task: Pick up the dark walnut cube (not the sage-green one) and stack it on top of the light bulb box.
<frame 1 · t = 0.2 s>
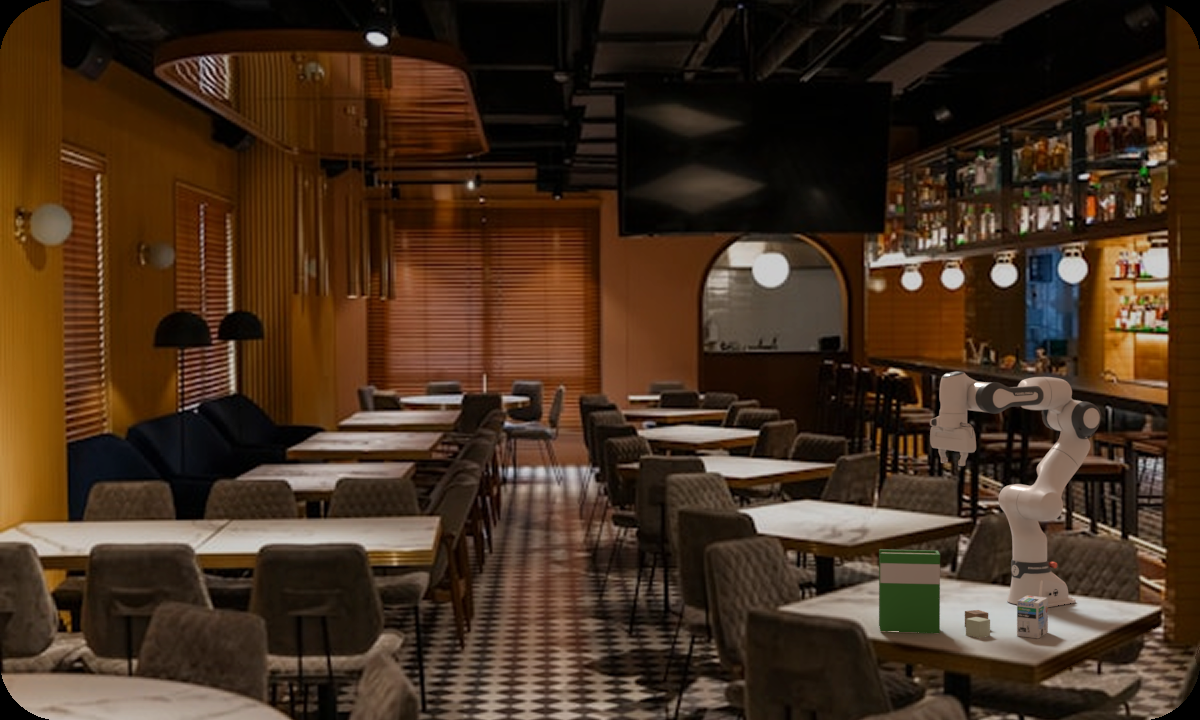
hand: (952, 464, 476), 48 cm above the table, tool pointing down, fingers open, 8 cm apart
green upright box: (909, 630, 447), on the table
sage cube: (977, 635, 440), on the table
walnut cube: (976, 628, 451), on the table
light bulb box: (1032, 635, 441), on the table
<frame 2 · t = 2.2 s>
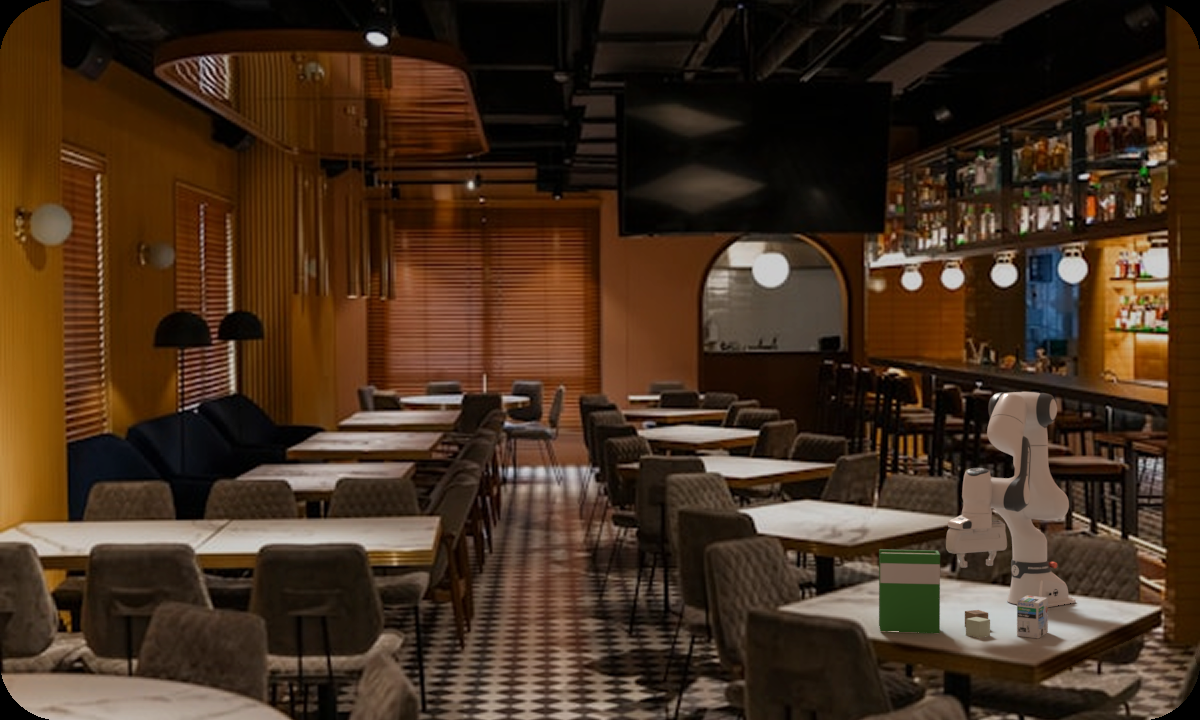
hand: (976, 566, 450), 19 cm above the table, tool pointing down, fingers open, 8 cm apart
nothing on the table moved.
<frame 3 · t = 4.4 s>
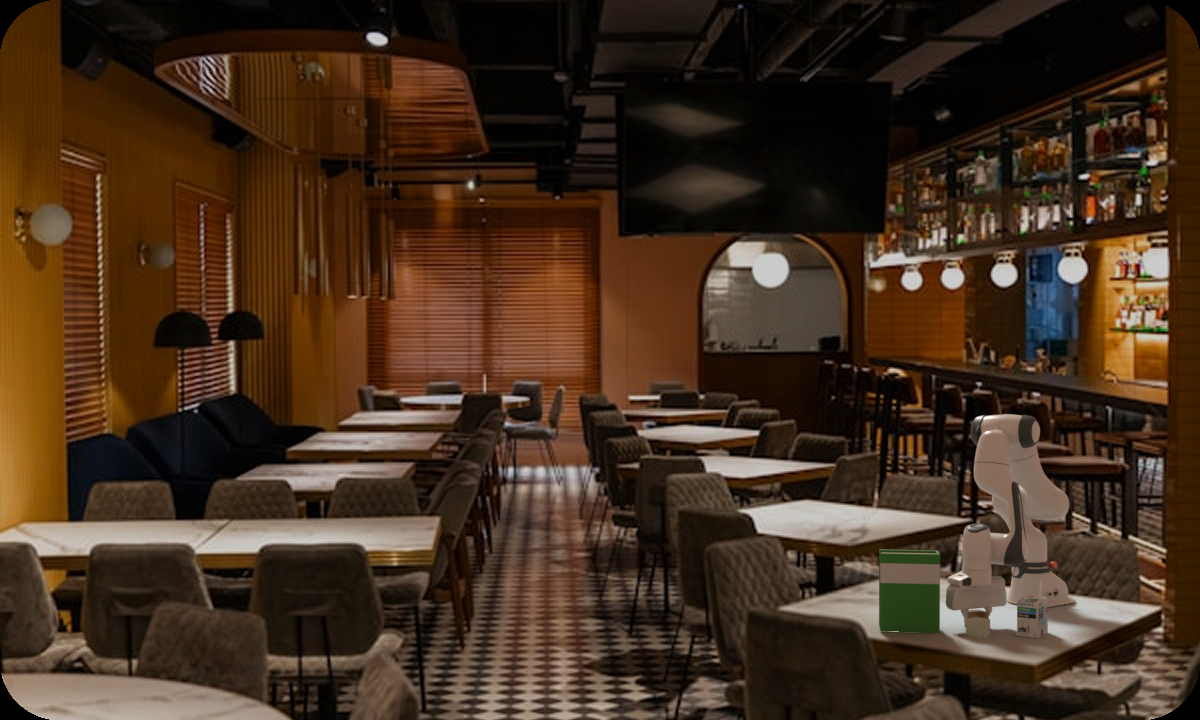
hand: (976, 622, 450), 2 cm above the table, tool pointing down, fingers closed on walnut cube, 5 cm apart
walnut cube: (976, 627, 451), on the table, touching gripper
everything else where it was.
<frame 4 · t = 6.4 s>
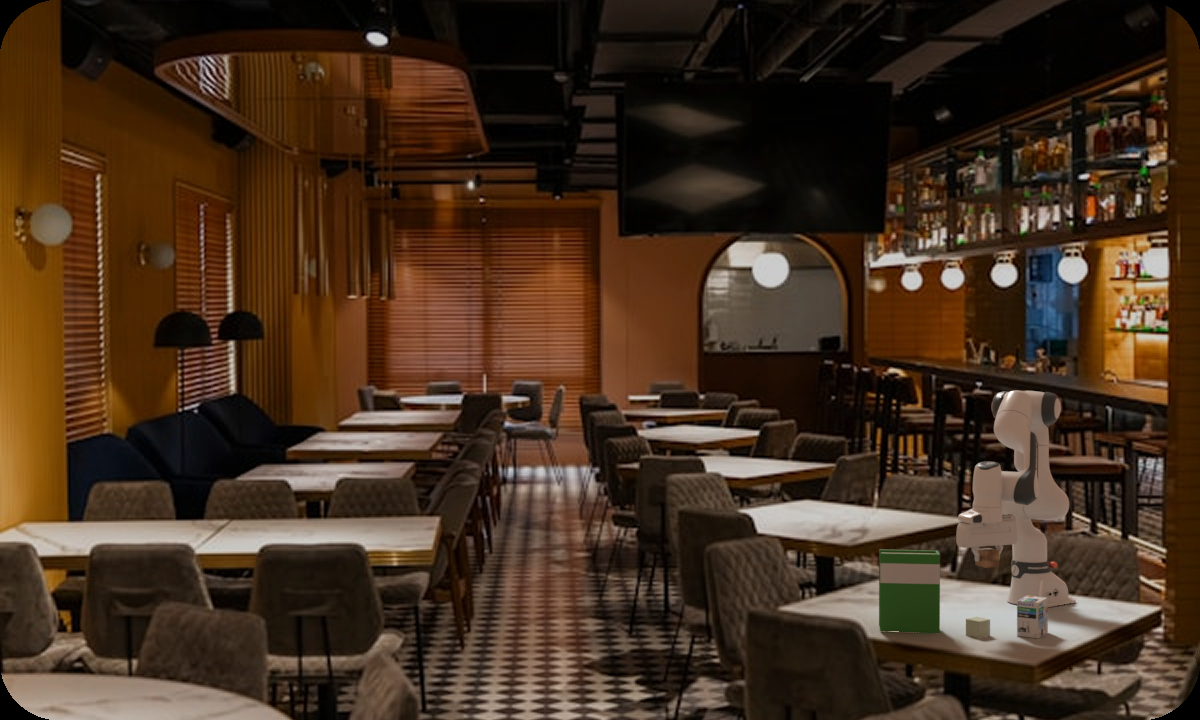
hand: (987, 560, 448), 21 cm above the table, tool pointing down, fingers closed on walnut cube, 5 cm apart
walnut cube: (987, 565, 448), point 19 cm above the table, touching gripper
everything else where it was.
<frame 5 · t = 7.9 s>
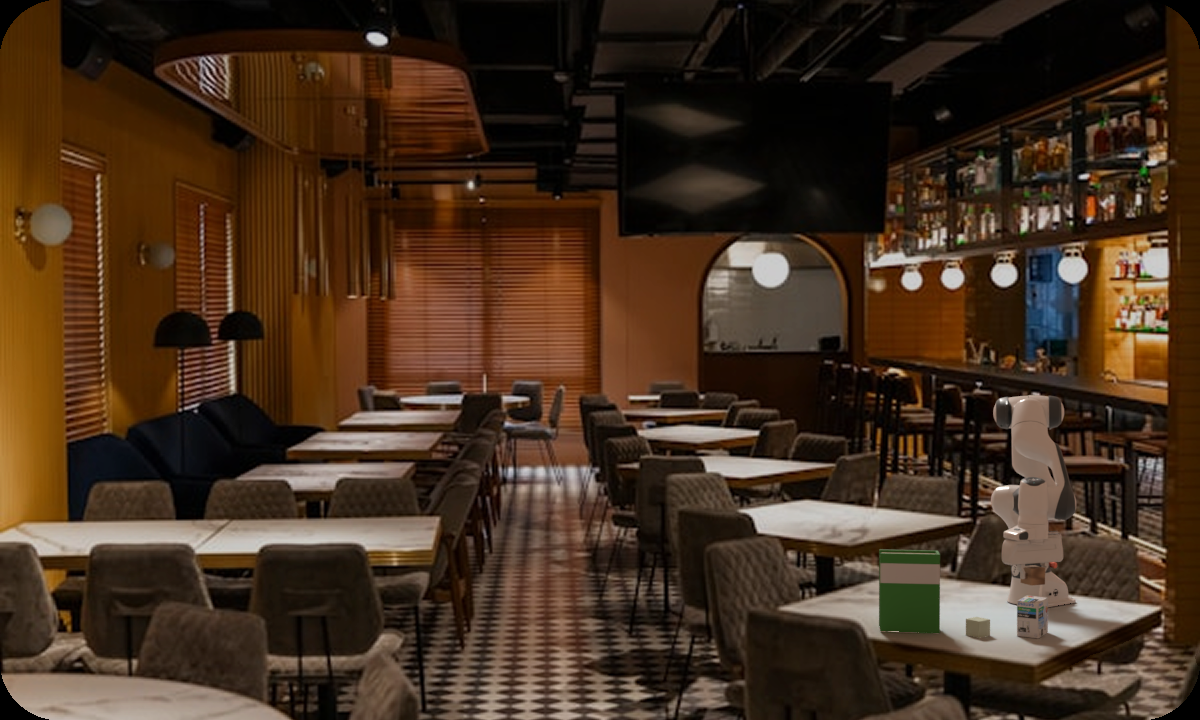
hand: (1032, 578, 441), 17 cm above the table, tool pointing down, fingers closed on walnut cube, 5 cm apart
walnut cube: (1032, 583, 441), point 15 cm above the table, touching gripper
everything else where it was.
when the fingers open (14 cm above the table, at t = 8.8 s): walnut cube drops 2 cm, resting on light bulb box.
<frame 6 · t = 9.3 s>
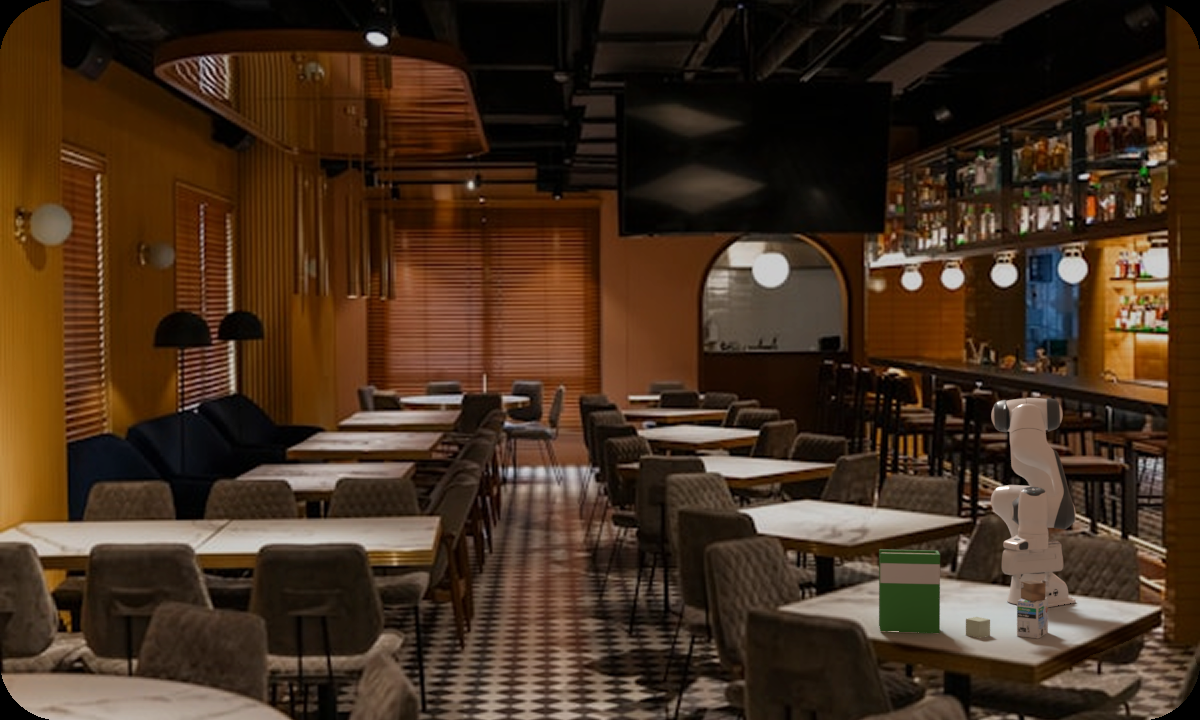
hand: (1032, 587, 441), 14 cm above the table, tool pointing down, fingers open, 8 cm apart
walnut cube: (1033, 598, 441), point 11 cm above the table, touching light bulb box
light bulb box: (1032, 635, 441), on the table, touching walnut cube
everything else where it was.
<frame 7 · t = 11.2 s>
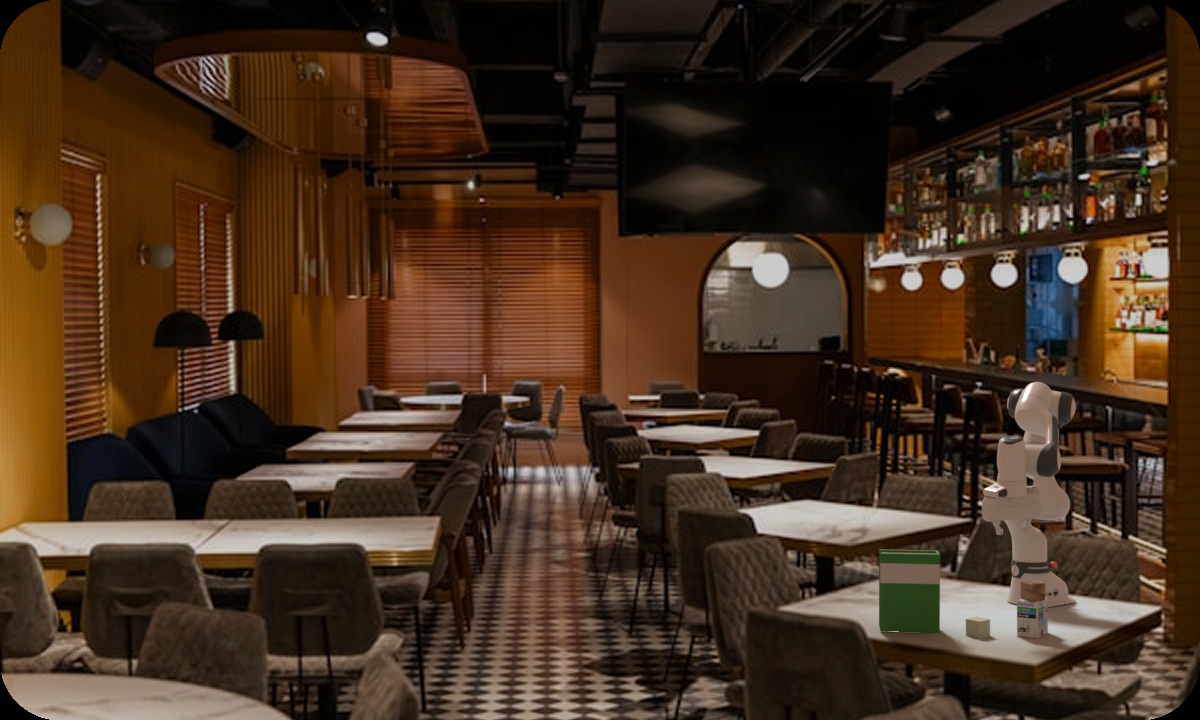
hand: (1012, 533, 454), 28 cm above the table, tool pointing down, fingers open, 8 cm apart
nothing on the table moved.
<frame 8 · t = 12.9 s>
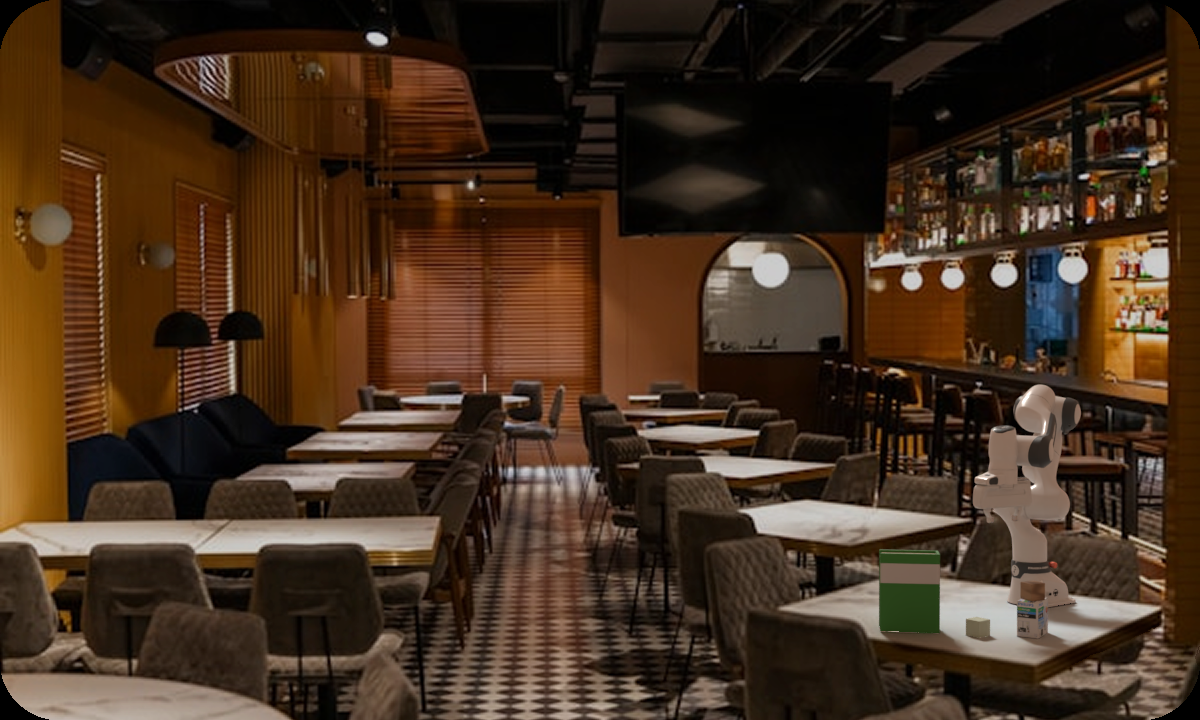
hand: (1002, 521, 460), 31 cm above the table, tool pointing down, fingers open, 8 cm apart
nothing on the table moved.
at the end: walnut cube inside the target area on the light bulb box (0.1 cm from its centre), point 11.0 cm above the light bulb box's base; walnut cube tilted 0°; sage cube moved 0.1 cm from its start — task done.
